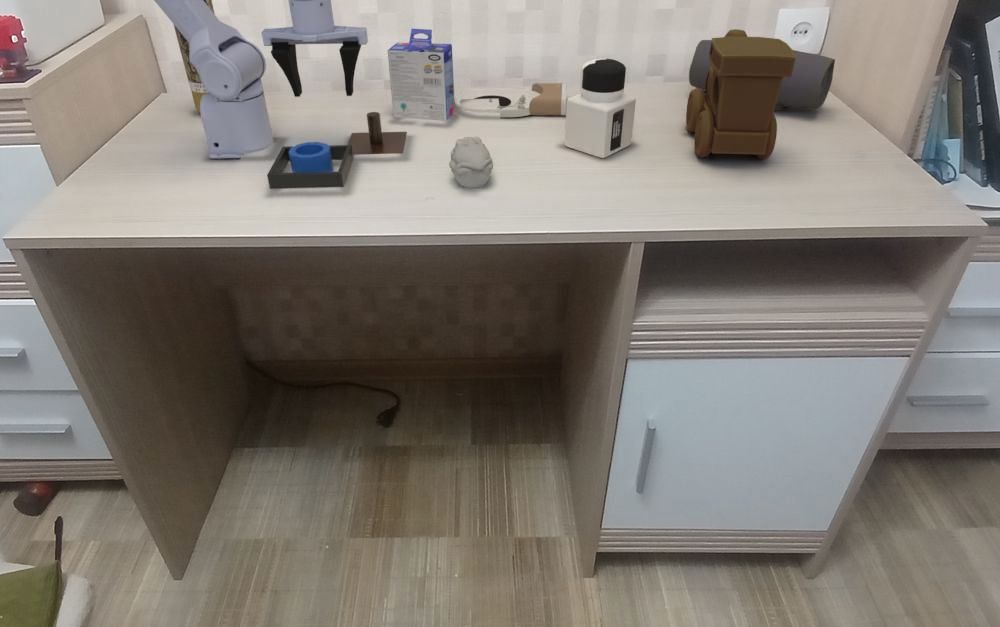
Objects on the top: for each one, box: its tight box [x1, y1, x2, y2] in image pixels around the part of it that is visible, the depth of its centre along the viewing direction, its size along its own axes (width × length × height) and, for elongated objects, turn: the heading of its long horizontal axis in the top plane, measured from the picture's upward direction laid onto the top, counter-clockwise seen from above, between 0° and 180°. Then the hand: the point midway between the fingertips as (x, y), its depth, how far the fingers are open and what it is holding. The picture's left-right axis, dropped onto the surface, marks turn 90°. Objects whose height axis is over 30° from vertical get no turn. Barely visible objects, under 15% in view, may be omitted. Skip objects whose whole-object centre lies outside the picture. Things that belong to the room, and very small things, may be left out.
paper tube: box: [173, 0, 216, 114], centre depth 120 cm, size 7×7×25 cm
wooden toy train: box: [685, 29, 796, 160], centre depth 106 cm, size 20×11×17 cm, turn 175°
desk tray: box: [266, 144, 354, 190], centre depth 102 cm, size 10×10×3 cm
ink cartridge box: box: [387, 28, 456, 121], centre depth 118 cm, size 10×6×14 cm, turn 78°
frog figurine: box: [448, 136, 494, 189], centre depth 98 cm, size 6×7×7 cm
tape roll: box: [289, 141, 335, 173], centre depth 101 cm, size 6×6×4 cm
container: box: [564, 58, 637, 159], centre depth 108 cm, size 8×8×13 cm
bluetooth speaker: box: [688, 39, 836, 111], centre depth 124 cm, size 23×9×10 cm, turn 55°
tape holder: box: [347, 111, 408, 156], centre depth 110 cm, size 9×9×6 cm
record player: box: [454, 82, 567, 118], centre depth 126 cm, size 12×3×20 cm
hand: (324, 94), depth 105 cm, fingers open, 7 cm apart
